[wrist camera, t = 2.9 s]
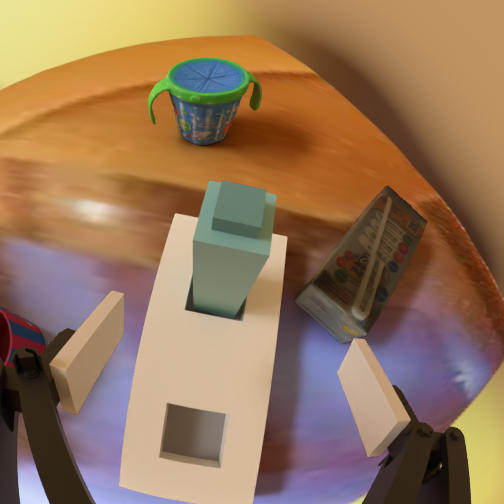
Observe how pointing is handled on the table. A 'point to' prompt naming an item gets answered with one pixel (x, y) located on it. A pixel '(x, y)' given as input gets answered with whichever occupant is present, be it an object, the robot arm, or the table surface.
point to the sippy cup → (206, 97)
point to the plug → (230, 245)
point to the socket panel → (201, 384)
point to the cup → (17, 336)
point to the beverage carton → (364, 268)
